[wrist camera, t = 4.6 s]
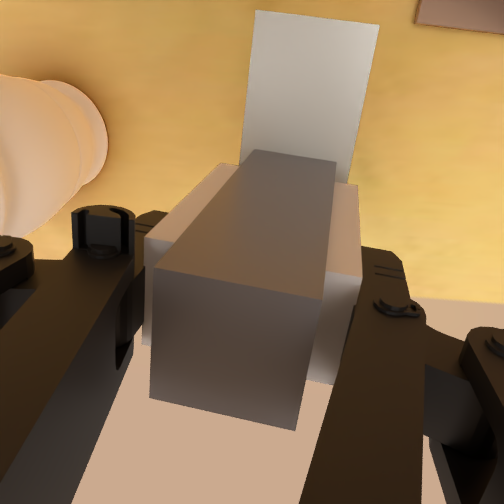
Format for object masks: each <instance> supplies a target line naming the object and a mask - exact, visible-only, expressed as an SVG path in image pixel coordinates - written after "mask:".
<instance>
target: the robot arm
mask: <svg viewBox="0 0 504 504" xmlns="http://www.w3.org/2000/svg"><path fill="white" fill-rule="evenodd" d="M238 168H239V166H237V165H230V164H224V163H220V164H219V165H218V166H217V167H216V168H215V169H214V170H213V171H211V172H210V173H209V174H208V175H207V176H206V177H205V178H204V179H203V180H202V181H201V182H200V183H199V184H198V185H197V186H196V187H195V188H194V189H193V190H192V191H191V192H190V193H189V194H188V195H187V196H186V197H185V198H184V199H183V200H182V201H181V202H180V203H179V204H178V205H176V206H175V207H174V208H173V209H172V210H171V211H170V212H169V213H167V212H161V211H155V210H154V211H151V212H148V213H145V214H142V215H140V216H139V217H137V218H136V219H135V214H134V213H133V212H132V211H130V210H127V209H125V208H122V207H117V206H111V205H94V206H86V207H82V208H78V209H76V210H75V211H73V212H71V217H72V238H73V249H72V250H71V251H70V252H69V253H68V254H67V256H66V257H65V258H64V259H63V260H42V259H34V253H33V245H32V244H31V243H30V242H29V241H27V240H25V239H22V238H18V237H11V236H9V235H3V236H1V235H0V504H71V503H72V500H73V498H74V495H75V493H76V491H77V488H78V486H79V483H80V481H81V479H82V476H83V473H84V471H85V469H86V467H87V464H88V462H89V459H90V457H91V454H92V452H93V450H94V447H95V445H96V442H97V440H98V437H99V435H100V433H101V430H102V428H103V426H104V423H105V420H106V418H107V416H108V414H109V411H110V409H111V406H112V404H113V401H114V399H115V397H116V394H117V392H118V389H119V387H120V385H121V382H122V380H123V377H124V375H125V372H126V370H127V368H128V365H129V363H130V360H131V358H132V356H133V349H134V335H135V333H136V332H137V331H138V329H139V328H140V326H141V325H142V344H143V345H148V346H151V332H152V302H153V271H154V266H155V265H156V264H157V263H158V261H159V260H160V259H161V258H162V257H163V256H164V254H165V253H166V252H167V251H168V250H169V249H170V247H171V246H172V245H173V244H174V243H175V242H176V240H177V239H178V238H179V237H180V236H181V234H182V233H183V232H184V231H185V230H186V229H187V227H188V226H189V225H190V224H191V223H192V222H193V220H194V219H195V218H196V217H197V216H198V215H199V213H200V212H201V211H202V210H203V209H204V207H205V206H206V205H207V204H208V203H209V202H210V200H211V199H212V198H213V197H214V196H215V195H216V193H217V192H218V191H219V190H220V189H221V188H222V186H223V185H224V184H225V183H226V182H227V180H228V179H229V178H230V177H231V176H232V175H233V173H234V172H235V171H236V170H237V169H238ZM405 279H406V278H405V273H404V269H403V265H402V261H401V260H400V259H399V258H398V257H397V256H396V255H395V254H394V253H393V252H392V251H386V250H381V249H375V248H369V247H364V246H361V239H360V220H359V201H358V185H352V184H346V183H340V182H335V184H334V193H333V203H332V213H331V223H330V232H329V242H328V252H327V262H326V271H325V281H324V291H323V300H322V305H321V310H320V315H319V320H318V324H317V329H316V334H315V339H314V344H313V348H312V353H311V358H310V363H309V367H308V372H307V377H306V380H311V381H315V382H320V383H325V384H329V385H334V386H333V389H332V393H331V396H330V400H329V403H328V406H327V410H326V413H325V417H324V420H323V423H322V427H321V430H320V433H319V437H318V440H317V444H316V448H315V451H314V454H313V457H312V461H311V464H310V468H309V471H308V474H307V477H306V481H305V484H304V488H303V491H302V494H301V498H300V501H299V504H421V495H422V493H421V492H422V456H423V455H422V454H423V435H425V436H428V437H429V447H430V451H431V454H432V457H433V460H434V464H435V467H436V470H437V474H438V477H439V480H440V483H441V487H442V490H443V493H444V497H445V500H446V503H447V504H504V329H498V328H494V327H478V328H474V329H471V331H470V332H469V333H468V334H467V337H466V340H465V342H464V341H462V340H459V339H456V338H454V337H451V336H448V335H446V334H443V333H441V332H438V331H436V330H435V329H433V328H431V327H429V326H428V325H426V314H425V312H424V309H423V308H422V307H421V306H420V305H419V304H418V303H417V302H415V301H413V300H411V299H410V295H409V290H408V286H407V282H406V280H405Z"/></svg>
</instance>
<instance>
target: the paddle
mask: <svg viewBox="0 0 504 504" xmlns="http://www.w3.org/2000/svg"><path fill="white" fill-rule="evenodd" d="M379 26H380V25H376V24H368V23H360V22H352V21H344V20H336V19H328V18H320V17H312V16H304V15H296V14H288V13H280V12H272V11H264V10H256V11H255V21H254V30H253V39H252V49H251V58H250V68H249V77H248V86H247V96H246V105H245V114H244V124H243V133H242V142H241V152H240V161H239V168H238V169H237V170H236V171H235V172H234V173H233V175H232V176H231V177H230V178H229V179H228V180H227V182H226V183H225V184H224V185H223V186H222V188H221V189H220V190H219V191H218V192H217V193H216V195H215V196H214V197H213V198H212V199H211V200H210V202H209V203H208V204H207V205H206V206H205V207H204V209H203V210H202V211H201V212H200V213H199V215H198V216H197V217H196V218H195V219H194V220H193V222H192V223H191V224H190V225H189V226H188V227H187V229H186V230H185V231H184V232H183V233H182V234H181V236H180V237H179V238H178V239H177V240H176V242H175V243H174V244H173V245H172V246H171V247H170V249H169V250H168V251H167V252H166V253H165V254H164V256H163V257H162V258H161V259H160V260H159V261H158V263H157V264H156V265H155V266H154V271H153V302H152V332H151V364H150V366H151V367H150V396H149V398H152V399H157V400H161V401H165V402H170V403H174V404H179V405H183V406H187V407H192V408H196V409H201V410H205V411H209V412H214V413H218V414H222V415H227V416H231V417H236V418H240V419H244V420H249V421H253V422H258V423H262V424H267V425H271V426H275V427H280V428H284V429H288V430H292V431H295V430H296V425H297V420H298V415H299V410H300V406H301V401H302V396H303V391H304V386H305V381H306V377H307V372H308V367H309V363H310V358H311V353H312V348H313V344H314V339H315V334H316V329H317V324H318V320H319V315H320V310H321V305H322V300H323V291H324V281H325V271H326V262H327V252H328V242H329V232H330V223H331V213H332V203H333V193H334V184H335V182H340V183H346V184H347V180H348V175H349V170H350V166H351V161H352V156H353V151H354V146H355V142H356V137H357V132H358V127H359V122H360V118H361V113H362V108H363V103H364V98H365V94H366V89H367V84H368V79H369V74H370V70H371V65H372V60H373V55H374V50H375V46H376V41H377V36H378V31H379Z"/></svg>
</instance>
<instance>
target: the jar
mask: <svg viewBox="0 0 504 504" xmlns="http://www.w3.org/2000/svg"><path fill="white" fill-rule="evenodd" d="M107 151H108V137H107V131H106V127H105V124H104V121H103V119H102V116H101V115H100V113H99V111H98V109H97V108H96V106H95V105H94V104H93V102H92V101H91V100H90V99H89V98H88V97H87V96H86V95H85V94H84V93H83V92H81V91H80V90H79V89H77V88H75V87H74V86H72V85H70V84H67V83H64V82H61V81H56V80H43V81H36V80H32V79H28V78H22V77H14V76H7V75H2V74H0V235H1V236H3V235H9V236H11V237H18V238H22V237H24V236H26V235H28V234H30V233H31V232H33V231H35V230H36V229H38V228H39V227H41V226H42V225H43V224H45V223H46V222H47V221H48V220H50V219H51V218H52V217H53V216H54V215H55V214H56V213H57V212H58V211H59V210H60V209H61V208H62V207H63V206H64V205H65V204H66V203H67V202H68V201H69V200H70V199H71V198H72V197H73V196H74V195H75V194H76V193H77V192H78V191H79V189H80V188H81V187H82V186H83V185H85V184H87V183H89V182H90V181H91V180H93V179H94V178H95V177H96V176H97V175H98V173H99V172H100V171H101V169H102V167H103V165H104V163H105V160H106V156H107Z"/></svg>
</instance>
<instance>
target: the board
mask: <svg viewBox="0 0 504 504" xmlns="http://www.w3.org/2000/svg"><path fill="white" fill-rule="evenodd" d="M414 24H421V25H429V26H437V27H446V28H454V29H462V30H470V31H478V32H486V33H494V34H502V35H504V0H419V4H418V8H417V12H416V16H415V21H414Z"/></svg>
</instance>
